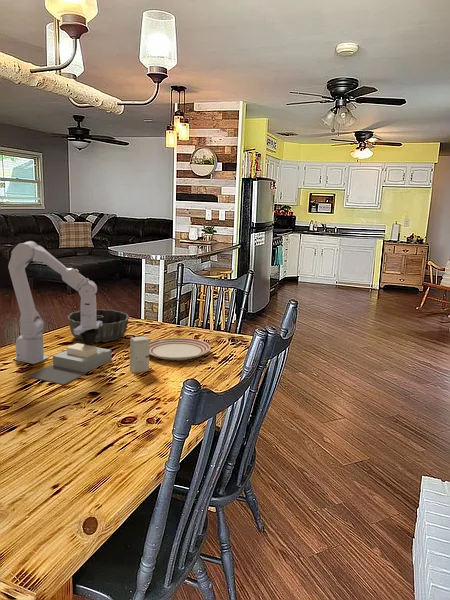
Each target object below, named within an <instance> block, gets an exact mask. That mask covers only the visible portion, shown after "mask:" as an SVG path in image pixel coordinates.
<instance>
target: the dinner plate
mask: <svg viewBox="0 0 450 600" xmlns="http://www.w3.org/2000/svg"><path fill="white" fill-rule="evenodd" d="M210 351H211V345H210V344H209V343H208V342H206V341H203V340H200V339H196V338H195V339H194V338H189V337H167V338H159V339H155V340H151V341H150V345H149V356H152V357H156V358H159V359H161V360H166V361H174V360H177V361H178V362H179V361H187V360H188V359H189V360H191V359H192V358H193V359H197V358H198V357H201V356H204V355H206V354H207V353H208V352H210ZM193 359H192V360H193Z"/></svg>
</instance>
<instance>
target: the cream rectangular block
mask: <svg viewBox="0 0 450 600" xmlns="http://www.w3.org/2000/svg"><path fill="white" fill-rule="evenodd" d="M97 347H98V346H94V345H93V346H90V345H85V344H84V343H74V344H72V345H69V346H67V347H66V350H67V354H71V355H76V356H81V357H86V358H87V357H89V356H91V355H94V354H96V353H97Z"/></svg>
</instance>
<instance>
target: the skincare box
mask: <svg viewBox="0 0 450 600" xmlns="http://www.w3.org/2000/svg"><path fill="white" fill-rule="evenodd" d="M150 342H151V341H150V338H149V337H148V336H136V337H130V340H129V370H130V371H131V372H132V373H133V374H134V373H135V374H136V373H142V372H149V370H150V354H149V345H150Z"/></svg>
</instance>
